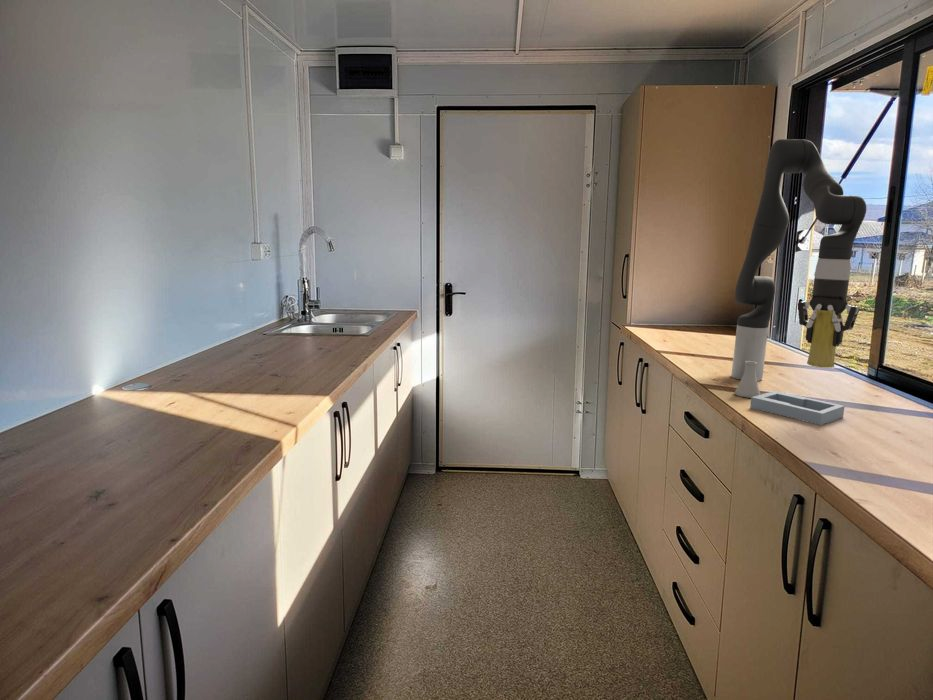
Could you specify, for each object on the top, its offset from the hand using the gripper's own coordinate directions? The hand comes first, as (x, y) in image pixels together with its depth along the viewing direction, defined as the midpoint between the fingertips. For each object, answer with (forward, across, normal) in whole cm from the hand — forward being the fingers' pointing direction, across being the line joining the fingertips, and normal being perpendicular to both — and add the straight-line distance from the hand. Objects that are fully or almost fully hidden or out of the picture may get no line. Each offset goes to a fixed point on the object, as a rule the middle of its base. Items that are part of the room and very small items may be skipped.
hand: (822, 344), depth 157 cm
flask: (+19, +21, -6) cm, 29 cm away
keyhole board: (+19, +4, 0) cm, 19 cm away
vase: (+6, 0, 0) cm, 6 cm away
